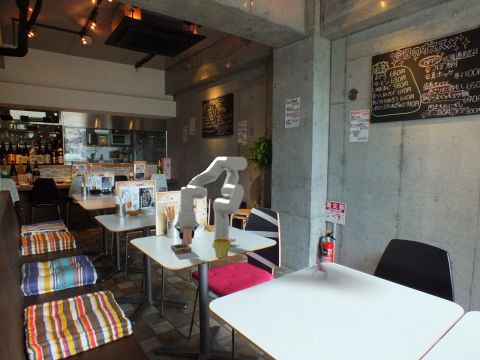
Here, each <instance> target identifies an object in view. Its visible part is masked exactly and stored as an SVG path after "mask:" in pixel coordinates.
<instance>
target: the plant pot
mask: <svg viewBox="0 0 480 360" xmlns="http://www.w3.org/2000/svg"><path fill="white" fill-rule="evenodd" d="M229 239H230V238H229ZM229 239H225V238H218V239H215V240H214V239H213V242H212V243H213V246H214V253H215V258H218V259H226V258H228V254H229V251H230V248H231V246H232V242H231V240H229ZM213 246H212V247H213Z"/></svg>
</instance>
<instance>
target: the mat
mask: <svg viewBox="0 0 480 360" xmlns="http://www.w3.org/2000/svg"><path fill="white" fill-rule="evenodd" d="M174 256H175V257H176V258H177V259H178V260H179V261H180V260H186V259H191V258H192V259H194V258H199V257H200V256H199V255H198V254H197V253H196V252H195V251H193V252H192V251H191V252H185V253H178V254H174Z"/></svg>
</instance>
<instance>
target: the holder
mask: <svg viewBox="0 0 480 360" xmlns="http://www.w3.org/2000/svg"><path fill="white" fill-rule="evenodd" d="M170 249H171V251H172V252H173V253H174V255H177V254H185V253H192V246H191V245H183V244H181V243H177V244H170Z"/></svg>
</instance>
